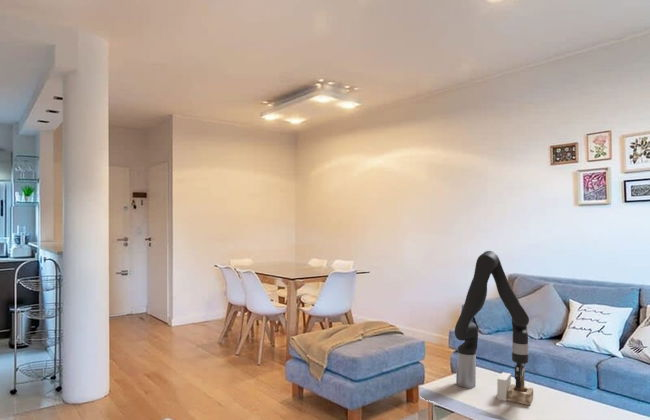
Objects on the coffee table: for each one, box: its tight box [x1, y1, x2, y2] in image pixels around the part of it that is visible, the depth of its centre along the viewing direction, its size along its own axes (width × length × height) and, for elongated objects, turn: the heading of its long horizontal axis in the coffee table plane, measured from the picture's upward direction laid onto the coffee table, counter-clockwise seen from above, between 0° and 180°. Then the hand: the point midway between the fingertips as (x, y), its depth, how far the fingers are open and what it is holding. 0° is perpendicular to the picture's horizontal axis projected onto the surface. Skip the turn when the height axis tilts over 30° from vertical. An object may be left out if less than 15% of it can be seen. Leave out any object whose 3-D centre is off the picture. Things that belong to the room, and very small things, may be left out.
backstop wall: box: [496, 372, 512, 402], centre depth 223 cm, size 4×12×10 cm, turn 147°
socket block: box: [507, 383, 534, 406], centre depth 218 cm, size 10×10×5 cm
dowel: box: [516, 372, 525, 392], centre depth 219 cm, size 4×4×12 cm
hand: (520, 385), depth 219 cm, fingers open, 8 cm apart
